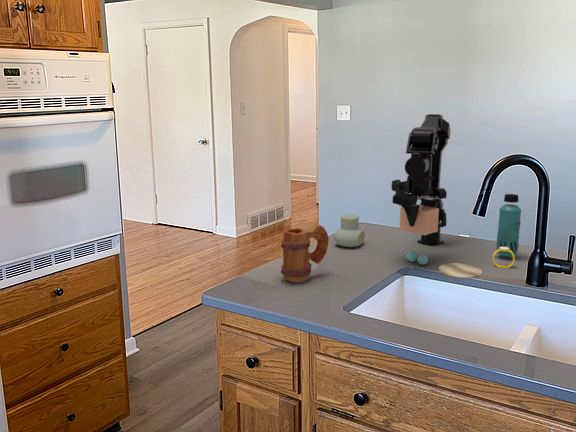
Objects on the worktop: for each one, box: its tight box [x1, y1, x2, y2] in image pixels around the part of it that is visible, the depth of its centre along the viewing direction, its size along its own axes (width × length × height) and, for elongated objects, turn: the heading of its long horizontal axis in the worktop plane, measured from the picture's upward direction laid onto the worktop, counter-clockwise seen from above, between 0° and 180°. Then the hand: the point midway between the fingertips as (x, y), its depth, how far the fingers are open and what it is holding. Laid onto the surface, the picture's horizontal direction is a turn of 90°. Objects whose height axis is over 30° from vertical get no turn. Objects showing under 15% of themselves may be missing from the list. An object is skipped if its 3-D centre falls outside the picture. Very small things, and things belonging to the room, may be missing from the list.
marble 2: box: [416, 254, 428, 266], centre depth 173 cm, size 3×3×3 cm
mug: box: [280, 223, 329, 284], centre depth 160 cm, size 15×8×15 cm, turn 118°
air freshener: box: [333, 214, 366, 248], centre depth 193 cm, size 11×8×10 cm
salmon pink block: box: [399, 203, 439, 236], centre depth 172 cm, size 6×9×7 cm
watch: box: [492, 247, 516, 269], centre depth 170 cm, size 6×3×6 cm, turn 71°
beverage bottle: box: [495, 193, 522, 257], centre depth 177 cm, size 6×7×20 cm
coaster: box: [438, 262, 483, 279], centre depth 167 cm, size 12×12×1 cm
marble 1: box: [406, 251, 418, 263], centre depth 176 cm, size 3×3×3 cm
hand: (418, 224), depth 172 cm, fingers closed on salmon pink block, 6 cm apart
